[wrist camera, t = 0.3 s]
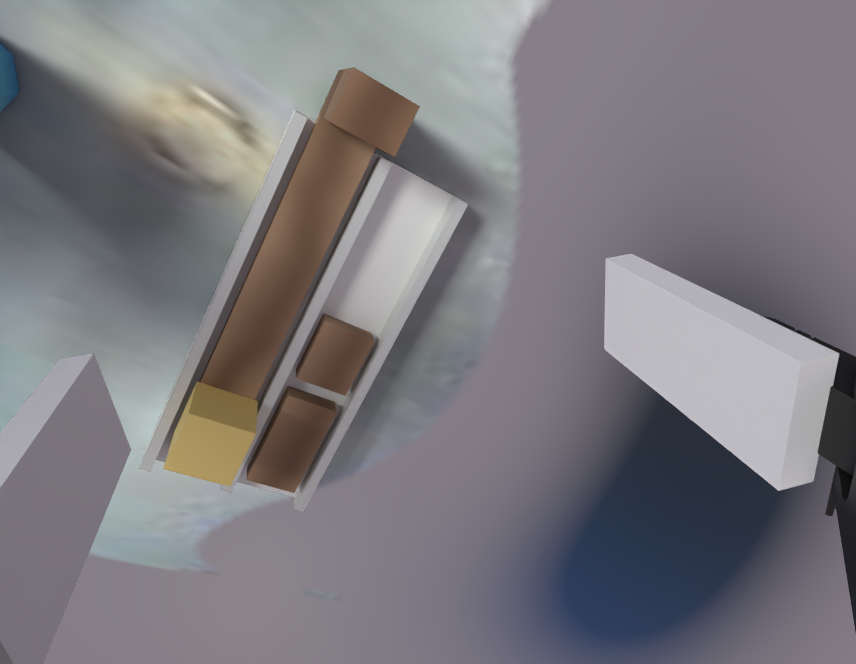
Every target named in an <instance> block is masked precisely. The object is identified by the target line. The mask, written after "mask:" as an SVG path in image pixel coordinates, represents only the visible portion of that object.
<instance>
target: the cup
mask: <svg viewBox="0 0 856 664" xmlns="http://www.w3.org/2000/svg"><path fill="white" fill-rule="evenodd" d="M19 93H20V91H19V85H18V79H17V73H16V68H15V62H14V56H13V54H12V53H11V52H10V51H8V50H7V49H6V48H5V47H4V46H3V45H2V44H1V43H0V113H1V111H2V110H3V109H4V108H5V107H6V106H7V105H8V104H9V103H10V102H11V101H12V100H13V99H14V98H15V97H16V96H17V95H18V94H19Z"/></svg>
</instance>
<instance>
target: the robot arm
mask: <svg viewBox="0 0 856 664" xmlns="http://www.w3.org/2000/svg"><path fill="white" fill-rule="evenodd" d="M604 349H605V350H606V351H607V352H608V353H610V354H611V355H612V356H613V357H615V358H616V359H617V360H618V361H620V362H621V363H622V364H623V365H624V366H626V367H627V368H628V369H629V370H631V371H632V372H633V373H634V374H636V375H637V376H638V377H639V378H640V379H642V380H643V381H644V382H646V383H647V384H648V385H649V386H650V387H652V388H653V389H654V390H655V391H656V392H658V393H659V394H660V395H661V396H663V397H664V398H665V399H666V400H668V401H669V402H670V403H671V404H673V405H674V406H675V407H676V408H678V409H679V410H680V411H681V412H682V413H684V414H685V415H686V416H687V417H688V418H690V419H691V420H692V421H693V422H695V423H696V424H697V425H698V426H700V427H701V428H702V429H703V430H705V431H706V432H707V433H709V435H711V436H712V437H713V438H714V439H716V440H717V441H718V442H719V443H720V444H722V445H723V446H724V447H725V448H727V449H728V450H729V451H730V452H732V453H733V454H734V455H735V456H737V457H738V458H739V459H740V460H742V461H743V462H744V463H745V464H746V465H748V466H749V467H750V468H751V469H753V470H754V471H755V472H756V473H758V474H759V475H760V476H761V477H762V478H764V479H765V480H766V481H767V482H769V483H770V484H771V485H772V486H773V487H775V488H776V489H777V490H778V491H780V490H783V489H787V488H791V487H794V486H798V485H802V484H805V483H809V482H813V480H814V476H815V471H816V466H817V461H818V456H819V454H820V455H822V456H823V457H824V458H826V459H827V460H829V461H830V462H832V463H833V464H835V465H836V468H835V473H834V477H833V482H832V487H831V492H830V495H829V500H828V505H827V509H826V515H829V516H832V515H833V512H834V509H836V510H837V516H838V523H839V529H840V535H841V542H842V548H843V554H844V561H845V567H846V573H847V580H848V586H849V593H850V598H851V605H852V612H853V618H854V625H855V631H856V357H855V356H853V355H850V354H848V353H846V352H844V351H842V350H840V349H838V348H836V347H834V346H832V345H829V344H827V343H825V342H823V341H821V340H819V339H817V338H811V336H810V335H808V334H806V333H804V332H802V331H800V330H797V331H795V328H793V327H791V326H789V325H787V324H785V323H783V322H781V321H778V320H776V319H773V318H770V317H766V316H761V315H758V314H756V313H754V312H752V311H750V310H748V309H745V308H743V307H741V306H739V305H737V304H735V303H733V302H731V301H729V300H727V299H725V298H722V297H720V296H718V295H716V294H714V293H712V292H710V291H708V290H706V289H704V288H701V287H699V286H697V285H695V284H693V283H691V282H689V281H687V280H685V279H683V278H681V277H679V276H676V275H674V274H672V273H670V272H668V271H666V270H664V269H662V268H660V267H657V266H656V265H653V264H651V263H649V262H647V261H645V260H643V259H641V258H639V257H637V256H635V255H633V254H628V255H623V256H617V257H612V258H607V259H606V278H605V334H604ZM130 451H131V448H130V446H129V443H128V441H127V438H126V435H125V433H124V430H123V428H122V425H121V422H120V420H119V417H118V415H117V412H116V409H115V407H114V404H113V402H112V399H111V396H110V394H109V391H108V389H107V386H106V383H105V381H104V378H103V376H102V373H101V370H100V368H99V365H98V363H97V360H96V357H95V355H94V353H92V354H87V355H82V356H76V357H71V358H65V359H60V360H58V361H57V363H56V364H55V365H54V366H53V368H52V369H51V370H50V371H49V373H48V374H47V375H46V376H45V378H44V379H43V380H42V381H41V383H40V384H39V385H38V386H37V388H36V389H35V390H34V391H33V393H32V394H31V395H30V396H29V397H28V399H27V400H26V401H25V402H24V404H23V405H22V406H21V407H20V409H19V410H18V411H17V412H16V414H15V415H14V416H13V417H12V419H11V420H10V421H9V422H8V424H7V425H6V426H5V427H4V428H3V430H2V431H1V432H0V664H44V661H45V659H46V656H47V654H48V652H49V649H50V647H51V644H52V642H53V639H54V637H55V634H56V632H57V630H58V627H59V625H60V622H61V620H62V617H63V615H64V612H65V610H66V607H67V605H68V603H69V600H70V598H71V595H72V593H73V590H74V588H75V586H76V583H77V581H78V578H79V576H80V573H81V571H82V568H83V566H84V563H85V561H86V559H87V556H88V554H89V551H90V549H91V546H92V544H93V541H94V539H95V537H96V534H97V532H98V529H99V527H100V524H101V522H102V519H103V517H104V515H105V512H106V510H107V507H108V505H109V502H110V500H111V497H112V495H113V493H114V490H115V488H116V485H117V483H118V480H119V478H120V475H121V473H122V471H123V468H124V466H125V463H126V461H127V458H128V456H129V453H130Z"/></svg>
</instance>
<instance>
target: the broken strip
mask: <svg viewBox="0 0 856 664" xmlns="http://www.w3.org/2000/svg"><path fill="white" fill-rule="evenodd" d="M373 343H374V338H373V336H372V333H371V332H369V331H366V330H364V329H361V328H359V327H356V326H354V325H351V324H349V323H346V322H344V321H341V320H339V319H337V318H334V317H332V316H329V315H327V314H323V316H322V318H321V320H320V322H319V324H318V326H317V328H316V330H315V332H314V334H313V336H312V338H311V340H310V342H309V344H308V346H307V348H306V350H305V352H304V354H303V356H302V358H301V360H300V362H299V364H298V366H297V368H296V377H297V379H299V380H302V381H304V382H307V383H310V384H313V385H316V386H319V387H321V388H324V389H327V390H330V391H333V392H335V393H338V394H341V395H344V396H346V394H347V392H348V390H349V388H350V387H351V385H352V383H353V381H354V379H355V377H356V375H357V373H358V371H359V369H360V368H361V366H362V364H363V362H364V360H365V358H366V356H367V354H368V352H369V350H370V348H371V347H372V345H373ZM336 413H337V409H336V404H335V402H334V401H331V400H328V399H325V398H322V397H320V396H317V395H314V394H311V393H308V392H305V391H302V390H299V389H296V388H294V387H291V386H287V388H286V390H285V392H284V394H283V396H282V398H281V401H280V403H279V405H278V407H277V409H276V411H275V413H274V415H273V417H272V419H271V421H270V423H269V425H268V427H267V429H266V431H265V433H264V435H263V437H262V439H261V441H260V443H259V445H258V447H257V449H256V451H255V453H254V455H253V457H252V459H251V461H250V463H249V465H248V467H247V477H246V480H248V481H252V482H256V483H259V484H263V485H267V486H270V487H274V488H277V489H281V490H285V491H288V492H292V493H295V491H296V489H297V487H298V485H299V484H300V482H301V480H302V478H303V476H304V474H305V472H306V470H307V468H308V466H309V464H310V463H311V461H312V459H313V457H314V455H315V453H316V451H317V449H318V447H319V445H320V444H321V442H322V440H323V438H324V436H325V434H326V432H327V430H328V428H329V426H330V425H331V423H332V421H333V419H334V417H335V415H336Z"/></svg>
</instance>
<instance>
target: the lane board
mask: <svg viewBox="0 0 856 664" xmlns="http://www.w3.org/2000/svg"><path fill="white" fill-rule="evenodd" d="M315 122H316V121H315V120H313V119H311V118H309V117H307V116H305V115H303V114H302V113H300V112H298V111H296V110H294V112H293V114H292V116H291V119H290V121H289V123H288V126H287V128H286V130H285V132H284V135H283V137H282V139H281V142H280V144H279V146H278V148H277V151H276V153H275V155H274V158H273V160H272V162H271V164H270V167H269V169H268V171H267V174H266V176H265V178H264V180H263V183H262V185H261V187H260V190H259V192H258V194H257V196H256V199H255V201H254V203H253V206H252V208H251V210H250V212H249V215H248V217H247V219H246V222H245V224H244V226H243V228H242V231H241V233H240V235H239V238H238V240H237V242H236V244H235V247H234V249H233V251H232V254H231V256H230V258H229V260H228V263H227V265H226V267H225V270H224V272H223V274H222V276H221V279H220V281H219V283H218V286H217V288H216V290H215V292H214V295H213V297H212V299H211V302H210V304H209V306H208V308H207V311H206V313H205V315H204V318H203V320H202V322H201V324H200V327H199V329H198V331H197V333H196V336H195V338H194V340H193V343H192V345H191V347H190V349H189V352H188V354H187V356H186V359H185V361H184V363H183V365H182V368H181V370H180V372H179V375H178V377H177V379H176V381H175V384H174V386H173V388H172V391H171V393H170V395H169V397H168V400H167V402H166V404H165V407H164V409H163V411H162V413H161V416H160V418H159V420H158V423H157V425H156V427H155V429H154V432H153V434H152V436H151V439H150V441H149V443H148V445H147V448H146V451H145V453H144V456H143V459H142V462H141V465H140V468H139V469H142V470H146V471H149V472H150V471H151V469H152V467H153V464H154V462H155V460H159V461H162V462H166V459H167V455H168V451H169V448H170V445H171V441H172V438H173V434H174V431H175V429H176V427H177V425H178V423H179V420H180V418H181V416H182V414H183V411H184V409H185V407H186V405H187V402H188V400H189V398H190V396H191V394H192V391H193V389H194V387H195V385H196V382H197V381H198V382H199V380H200V378H201V376H202V374H203V371H204V369H205V367H206V365H207V362H208V360H209V358H210V356H211V354H212V351H213V349H214V347H215V345H216V342H217V340H218V338H219V336H220V334H221V331H222V329H223V327H224V325H225V322H226V320H227V318H228V316H229V314H230V311H231V309H232V307H233V305H234V302H235V300H236V298H237V296H238V293H239V291H240V289H241V287H242V285H243V282H244V280H245V278H246V276H247V273H248V271H249V269H250V267H251V265H252V262H253V260H254V258H255V256H256V253H257V251H258V249H259V247H260V245H261V242H262V240H263V238H264V236H265V233H266V231H267V229H268V227H269V224H270V222H271V220H272V218H273V216H274V213H275V211H276V209H277V207H278V204H279V202H280V200H281V198H282V196H283V193H284V191H285V189H286V187H287V184H288V182H289V180H290V178H291V176H292V173H293V171H294V169H295V167H296V164H297V162H298V160H299V158H300V155H301V153H302V151H303V149H304V147H305V144H306V142H307V140H308V138H309V135H310V133H311V131H312V129H313V127H314V124H315ZM467 206H468V204H467V203H466V202H464V201H462V200H461V199H459V198H458V197H456V196H454V195H452V194H450V193H448V192H446V191H445V190H443V189H441V188H439V187H437V186H435V185H433V184H432V183H430V182H428V181H426V180H424V179H422V178H420V177H419V176H417V175H415V174H413V173H411V172H409V171H407V170H406V169H404V168H402V167H400V166H398V165H396V164H394V163H393V162H391V161H389V160H387V159H385V158H383V157H381V156H380V155H378V154H376V153H373V155H372V157H371V160H370V162H369V164H368V166H367V168H366V170H365V172H364V174H363V176H362V178H361V180H360V182H359V184H358V187H357V189H356V191H355V193H354V195H353V197H352V199H351V201H350V203H349V205H348V207H347V209H346V211H345V214H344V216H343V218H342V220H341V222H340V224H339V226H338V228H337V230H336V232H335V234H334V236H333V238H332V241H331V243H330V245H329V247H328V249H327V251H326V253H325V255H324V257H323V259H322V261H321V263H320V265H319V268H318V270H317V272H316V274H315V276H314V278H313V280H312V282H311V284H310V286H309V288H308V290H307V292H306V295H305V297H304V299H303V301H302V303H301V305H300V307H299V309H298V311H297V313H296V315H295V317H294V319H293V322H292V324H291V326H290V328H289V330H288V332H287V334H286V336H285V338H284V340H283V342H282V344H281V346H280V349H279V351H278V353H277V355H276V357H275V359H274V361H273V363H272V365H271V367H270V369H269V371H268V374H267V376H266V378H265V380H264V382H263V384H262V386H261V388H260V390H259V392H258V394H257V396H256V398H255V401H258V408H257V426H256V435H255V437H254V439H253V441H252V443H251V445H250V447H249V449H248V452H247V454H246V456H245V458H244V460H243V462H242V464H241V466H240V468H239V470H238V472H237V474H236V476H235V478H234V480H233V482H232V484H231V486H230V487H229V486H226V485H222V484H221V490H222V491H225V492H229V493H231V491H232V489H233V487H234V485H235V483H236V482H240V483H243V484H247V485H251V486H254V487H258V488H262V489H265V490H269V491H273V492H277V493H280V494H284V495H288V496H291V497H294V509H295V510H298V511H302V512H304V510H305V508H306V506H307V504H308V503H309V501H310V499H311V497H312V495H313V493H314V491H315V490H316V488H317V486H318V484H319V482H320V480H321V478H322V476H323V475H324V473H325V471H326V469H327V467H328V465H329V463H330V462H331V460H332V458H333V456H334V454H335V452H336V450H337V448H338V447H339V445H340V443H341V441H342V439H343V437H344V435H345V434H346V432H347V430H348V428H349V426H350V424H351V422H352V421H353V419H354V417H355V415H356V413H357V411H358V409H359V407H360V406H361V404H362V402H363V400H364V398H365V396H366V394H367V393H368V391H369V389H370V387H371V385H372V383H373V381H374V379H375V378H376V376H377V374H378V372H379V370H380V368H381V366H382V365H383V363H384V361H385V359H386V357H387V355H388V353H389V351H390V350H391V348H392V346H393V344H394V342H395V340H396V338H397V337H398V335H399V333H400V331H401V329H402V327H403V325H404V323H405V322H406V320H407V318H408V316H409V314H410V312H411V310H412V309H413V307H414V305H415V303H416V301H417V299H418V297H419V295H420V294H421V292H422V290H423V288H424V286H425V284H426V282H427V281H428V279H429V277H430V275H431V273H432V271H433V269H434V267H435V266H436V264H437V262H438V260H439V258H440V256H441V254H442V253H443V251H444V249H445V247H446V245H447V243H448V241H449V239H450V238H451V236H452V234H453V232H454V230H455V228H456V226H457V225H458V223H459V221H460V219H461V217H462V215H463V213H464V211H465V210H466V208H467ZM323 314H327V315H329V316H332V317H334V318H337V319H339V320H341V321H344V322H346V323H349V324H351V325H354V326H356V327H359V328H361V329H364V330H366V331H369V332H371V333H372V336H373V338H374V343H373V345H372V347H371V348H370V350H369V352H368V354H367V356H366V358H365V360H364V362H363V364H362V366H361V368H360V369H359V371H358V373H357V375H356V377H355V379H354V381H353V383H352V385H351V387H350V388H349V390H348V392H347V394H346V396H344V395H341V394H338V393H335V392H333V391H330V390H327V389H324V388H321V387H319V386H316V385H313V384H310V383H307V382H304V381H302V380H299V379H297V377H296V368H297V366H298V364H299V362H300V360H301V358H302V356H303V354H304V352H305V350H306V348H307V346H308V344H309V342H310V340H311V338H312V336H313V334H314V332H315V330H316V328H317V326H318V324H319V322H320V320H321V318H322V316H323ZM287 386H291V387H294V388H296V389H299V390H302V391H305V392H308V393H311V394H314V395H317V396H320V397H322V398H325V399H328V400H331V401H334V402H335V404H336V409H337V413H336V415H335V417H334V419H333V421H332V423H331V425H330V426H329V428H328V430H327V432H326V434H325V436H324V438H323V440H322V442H321V444H320V445H319V447H318V449H317V451H316V453H315V455H314V457H313V459H312V461H311V463H310V464H309V466H308V468H307V470H306V472H305V474H304V476H303V478H302V480H301V482H300V484H299V485H298V487H297V489H296V491H295V493H292V492H288V491H285V490H281V489H277V488H274V487H270V486H267V485H263V484H259V483H256V482H252V481H248V480H246V477H247V467H248V465H249V463H250V461H251V459H252V457H253V455H254V453H255V451H256V449H257V447H258V445H259V443H260V441H261V439H262V437H263V435H264V433H265V431H266V429H267V427H268V425H269V423H270V421H271V419H272V417H273V415H274V413H275V411H276V409H277V407H278V405H279V403H280V401H281V398H282V396H283V394H284V392H285V390H286V388H287Z"/></svg>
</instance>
